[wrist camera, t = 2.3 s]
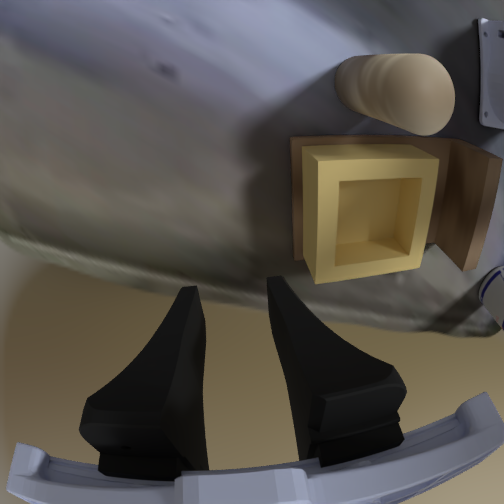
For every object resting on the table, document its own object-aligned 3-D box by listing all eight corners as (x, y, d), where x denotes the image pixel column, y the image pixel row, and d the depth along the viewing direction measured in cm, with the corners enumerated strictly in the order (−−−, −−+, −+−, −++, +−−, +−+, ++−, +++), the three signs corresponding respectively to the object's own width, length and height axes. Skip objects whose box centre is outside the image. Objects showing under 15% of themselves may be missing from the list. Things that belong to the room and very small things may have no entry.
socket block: (301, 146, 18) (318, 161, 15) (410, 144, 19) (439, 159, 16) (302, 255, 23) (315, 284, 20) (398, 242, 23) (419, 267, 20)
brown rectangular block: (289, 137, 19) (310, 156, 14) (460, 139, 19) (502, 158, 15) (293, 256, 24) (308, 299, 19) (444, 237, 24) (475, 268, 20)
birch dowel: (333, 53, 16) (387, 47, 10) (388, 59, 16) (455, 61, 10) (335, 113, 18) (387, 134, 12) (388, 114, 18) (452, 137, 12)
